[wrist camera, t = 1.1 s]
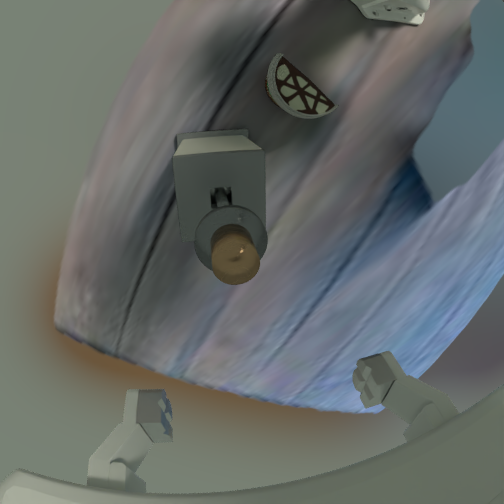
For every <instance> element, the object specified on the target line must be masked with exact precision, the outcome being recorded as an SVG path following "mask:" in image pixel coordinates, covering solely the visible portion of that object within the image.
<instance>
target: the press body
mask: <svg viewBox="0 0 504 504" xmlns="http://www.w3.org/2000/svg"><path fill="white" fill-rule="evenodd" d="M177 145H178V149H177V151H176V152H175V154H174V156H173V158H172V162H173V173H174V182H175V191H176V200H177V208H178V216H179V224H180V231H181V238H182V242H188V241H195V232H196V228H197V226H198V224H199V222H200V221H201V219H202V218H203V217H204V216H205V215H206V214H207V213H209V212H210V211H211V210H213V209H215V208H217V204H211V198H210V188H220V187H230V188H231V203H229V205H239V206H243V207H246V208H248V209H250V210H251V211H253V212H254V213H255V214H256V215H257V216H258V217H259V218H260V219H261V221H262V223H263V225H264V227H265V229H266V193H265V151H264V150H263V149H261V148H260V147H259V146H257V145H256V144H254V143H253V142H252V141H250V140H249V139H248V129H230V130H215V131H202V132H191V133H181V134H177Z"/></svg>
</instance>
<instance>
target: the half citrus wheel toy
mask: <svg viewBox="0 0 504 504" xmlns="http://www.w3.org/2000/svg"><path fill="white" fill-rule="evenodd" d="M265 88H266V92H267V95H268V96H269V98H270V99H271V101H272V102H274V103H275V104H276V105H277V106H279V107H281V108H282V109H283V110H285V111H286V112H287V113H289V114H291V115H293V116H296V117H299V118H304V119H313V118H318V117H322V116H325V115H327V114H329V113H331V112H332V111H334V110H335V109H336V108H337V107H338V106H339V105H335V104H333V102H332V101H330V100H329V99H328V98H327V97H326V96H325V95H324V94H323V93H322V92H321V91H320V90H319V89H318V88H317V87H316V85H315V84H314V83H313V82H312V81H311V80H309V79H308V78H307V77H306V76H305V75H304V74H302V73H301V72H300V71H299V70H298V69H297V68H295V67H294V66H293V65H292V64H291V63H290V62H289V61H287V60H286V59H285V58H284V57H283V54H281V53H278V54H276V55H275V57H274V58H273V59H272V61H271V63H270V66H269V69H268V73H267V76H266V79H265Z"/></svg>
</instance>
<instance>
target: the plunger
mask: <svg viewBox="0 0 504 504" xmlns="http://www.w3.org/2000/svg"><path fill="white" fill-rule="evenodd" d="M210 198H211V204H217V208H215V209H213V210H211V211H210V212H209V213H207V214H206V215H205V216H204V217H203V218H202V219H201V221H200V222H199V224H198V226H197V228H196V232H195V242H194V243H195V251H196V254H197V256H198V258H199V259H200V261H201V262H202V263H203V264H204V265H205V266H206V267H207V268H209V269H210V270H212V271H213V272H214V274H215V276H216V277H217V278H218V279H219V280H220V281H222V282H224V283H227V284H231V285H238V284H243V283H245V282H247V281H249V280H251V279H252V278H253V277H254V276H255V275H256V274H257V272H258V270H259V267H260V260H261V258H262V257H263V255H264V253H265V251H266V248H267V241H268V238H267V232H266V229H265V227H264V225H263V223H262V221H261V219H260V218H259V217H258V216H257V215H256V214H255V213H254V212H253V211H251V210H250V209H248V208H246V207H243V206H239V205H229V203H231V188H230V187H220V188H210Z"/></svg>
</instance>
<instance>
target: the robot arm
mask: <svg viewBox="0 0 504 504" xmlns="http://www.w3.org/2000/svg"><path fill="white" fill-rule="evenodd" d="M351 1H352V2H353V3H354V4H356V5H357V6H358V8H359V9H360V11H361V12H362V14H363V15H364V16H365V17H366V18H368V19H377V20H386V21H394V22H401V23H408V24H414V25H420V24H421V23H422V22H423V19H424V14H425V12H426V11H427V10H428V8H429V4H430V0H351ZM502 1H503V2H504V0H502ZM373 13H374V14H375V15H374V14H373ZM356 365H357V368H356V369H355V370H354V372H353V384H354V386H355V388H356V390H357V391H359V392H361V395H360V399H361V401H362V403H363V405H364V407H365V408H369V407H372V406H375V405H378V404H381V403H382V405H383V406H385V407H386V408H387V409H389V410H390V411H392V412H393V413H394V414H396V415H398V416H399V417H400V418H401V419H403V420H404V421H406V422H407V423H409V424H410V425H409V427H408V428H407V429H406V430H405V431H404V436H405V438H406V440H407V443H404V444H402V445H400V446H398V447H396V448H393V449H391V450H389V451H386V452H384V453H381V454H379V455H376V456H374V457H371V458H369V459H366V460H363V461H361V462H358V463H355V464H352V465H349V466H346V467H343V468H340V469H337V470H333V471H330V472H327V473H323V474H319V475H316V476H312V477H308V478H304V479H300V480H295V481H291V482H286V483H281V484H276V485H270V486H265V487H258V488H251V489H243V490H235V491H225V492H212V493H189V494H166V493H146V483H145V482H144V481H143V480H142V479H141V478H140V477H139V476H137V475H136V474H135V472H136V470H137V469H138V467H139V466H140V464H141V462H142V461H143V459H144V458H145V456H146V455H147V453H148V451H149V450H150V448H151V447H152V445H153V442H173V439H172V438H173V436H172V427H171V425H170V422H171V421H172V409H171V404H170V401H169V399H167V398H166V392H165V390H164V389H153V390H152V389H151V390H140V389H139V390H138V389H137V390H136V389H135V390H128V391H127V393H126V401H125V409H124V417H123V423H119V424H118V426H117V427H116V428H115V429H114V430H113V432H112V433H111V434H110V435H109V436H108V437H107V438H106V440H105V441H104V442H103V443H102V444H101V446H100V447H99V448H98V449H97V450H96V451H95V453H94V454H93V455H92V456H91V457H90V459H89V467H88V478H87V485H81V484H76V483H72V482H67V481H63V480H59V479H55V478H51V477H47V476H44V475H40V474H37V473H34V472H30V471H28V470H25V469H16V470H14V471H13V472H12V473H10V474H9V475H8V476H7V477H6V478H5V479H4V480H3V481H2V482H1V483H0V504H504V384H503V385H501V386H500V387H498V388H497V389H496V390H494V391H493V392H491V393H490V394H489V395H487V396H486V397H485V398H483V399H482V400H480V401H479V402H477V403H476V404H474V405H473V406H471V407H470V408H468V409H467V410H465V411H463V412H462V413H460V414H459V412H458V411H457V409H456V407H455V406H454V405H453V403H452V401H451V400H450V398H449V397H448V395H447V394H445V393H443V392H441V391H439V390H437V389H435V388H433V387H431V386H429V385H427V384H425V383H423V382H421V381H419V380H418V379H416V378H414V377H412V376H410V375H408V376H406V374H405V373H404V371H403V370H402V368H401V366H400V365H399V363H398V362H397V360H396V359H395V357H394V356H393V354H392V353H391V352H390V351H385V352H382V353H379V354H375V355H371V356H368V357H365V358H361V359H359V360H358V361H357V364H356Z"/></svg>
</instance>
